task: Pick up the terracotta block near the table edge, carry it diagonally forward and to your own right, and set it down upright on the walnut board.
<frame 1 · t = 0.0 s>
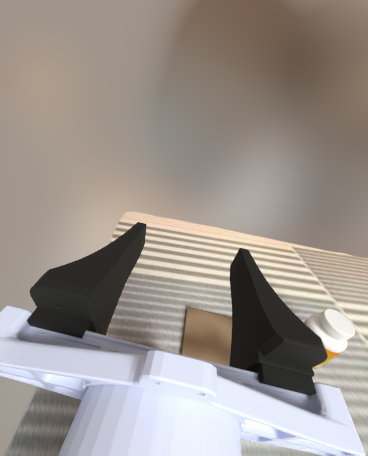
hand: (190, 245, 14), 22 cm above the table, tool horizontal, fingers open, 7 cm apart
supplement bottle: (301, 352, 32), on the table
walnut board: (223, 358, 29), on the table
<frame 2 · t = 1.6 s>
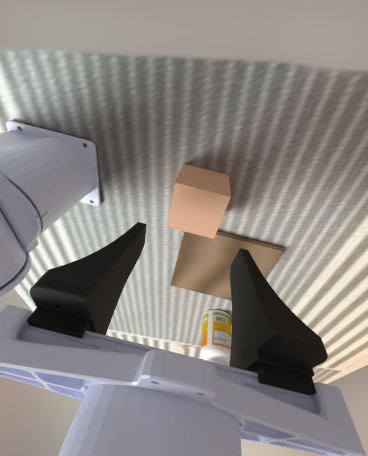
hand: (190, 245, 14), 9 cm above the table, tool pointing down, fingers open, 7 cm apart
supplement bottle: (216, 315, 38), on the table
walnut board: (219, 266, 29), on the table
terracotta block: (200, 189, 22), on the table
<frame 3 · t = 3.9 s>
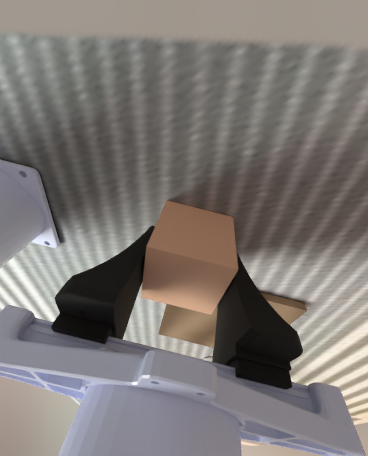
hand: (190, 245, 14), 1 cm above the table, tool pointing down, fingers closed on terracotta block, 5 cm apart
walnut board: (219, 317, 23), on the table
terracotta block: (192, 233, 15), on the table, touching gripper
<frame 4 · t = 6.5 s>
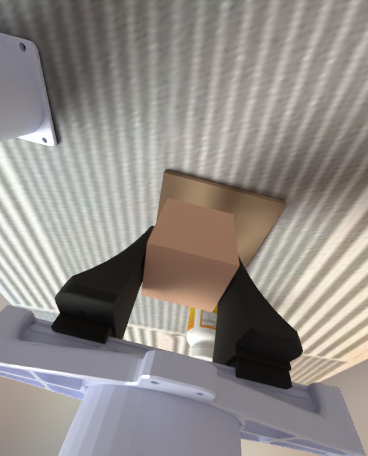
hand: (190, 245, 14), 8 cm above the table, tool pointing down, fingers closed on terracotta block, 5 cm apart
supplement bottle: (207, 296, 33), on the table
walnut board: (207, 231, 24), on the table
terracotta block: (192, 231, 15), point 7 cm above the table, touching gripper
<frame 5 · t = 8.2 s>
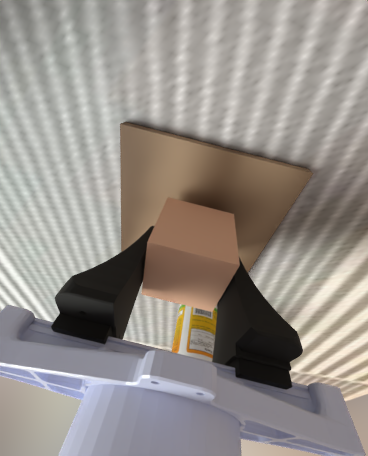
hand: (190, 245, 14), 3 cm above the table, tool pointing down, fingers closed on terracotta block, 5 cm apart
supplement bottle: (199, 306, 26), on the table
walnut board: (195, 220, 17), on the table
terracotta block: (193, 231, 15), point 2 cm above the table, touching gripper
when the fingers open (3 cm above the table, at t = 9.3 s): terracotta block drops 1 cm, resting on walnut board.
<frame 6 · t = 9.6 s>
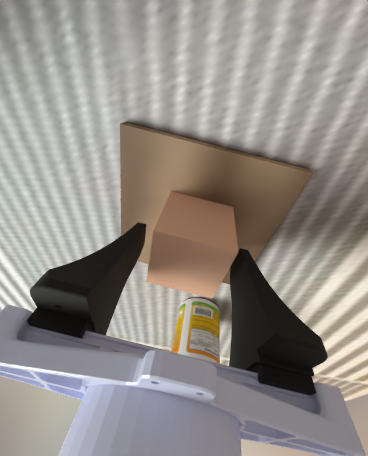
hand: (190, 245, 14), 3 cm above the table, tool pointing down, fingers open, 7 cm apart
supplement bottle: (199, 306, 26), on the table
walnut board: (194, 220, 17), on the table
terracotta block: (194, 223, 16), point 1 cm above the table, touching walnut board
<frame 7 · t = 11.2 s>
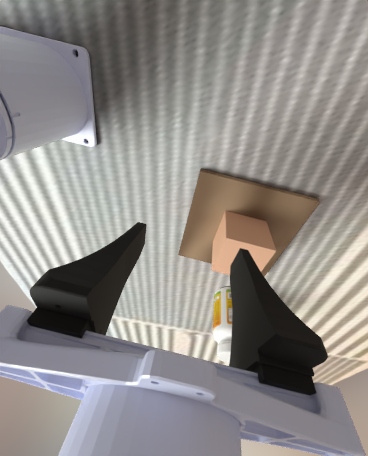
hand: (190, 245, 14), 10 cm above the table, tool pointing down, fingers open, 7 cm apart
supplement bottle: (229, 294, 33), on the table
walnut board: (236, 229, 24), on the table
terracotta block: (237, 232, 24), point 1 cm above the table, touching walnut board
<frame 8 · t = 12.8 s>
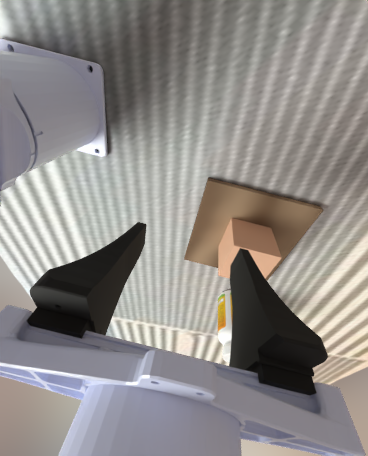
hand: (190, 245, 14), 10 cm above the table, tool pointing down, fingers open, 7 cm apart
supplement bottle: (233, 296, 34), on the table
walnut board: (242, 234, 25), on the table
terracotta block: (243, 237, 25), point 1 cm above the table, touching walnut board
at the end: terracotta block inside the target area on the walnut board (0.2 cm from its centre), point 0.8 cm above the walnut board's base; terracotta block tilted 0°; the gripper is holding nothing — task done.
